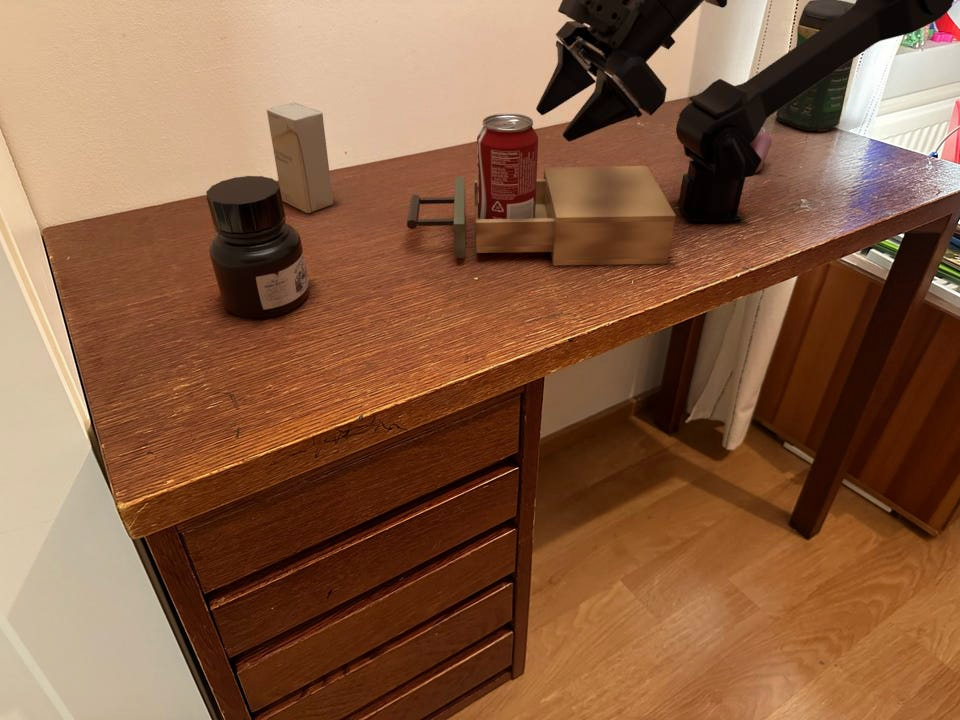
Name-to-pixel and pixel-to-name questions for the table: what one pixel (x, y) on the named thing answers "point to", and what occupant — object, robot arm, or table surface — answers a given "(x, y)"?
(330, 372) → the table surface
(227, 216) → the ink bottle
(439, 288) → the table surface
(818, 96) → the coffee jar
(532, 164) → the soda can
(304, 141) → the cosmetic box
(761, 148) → the video game controller
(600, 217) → the drawer unit
